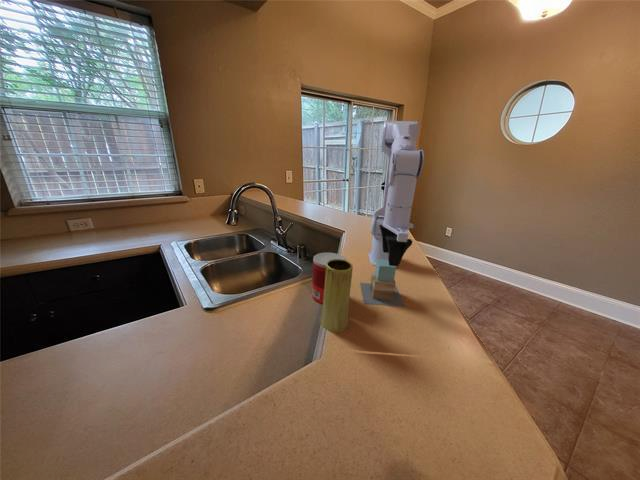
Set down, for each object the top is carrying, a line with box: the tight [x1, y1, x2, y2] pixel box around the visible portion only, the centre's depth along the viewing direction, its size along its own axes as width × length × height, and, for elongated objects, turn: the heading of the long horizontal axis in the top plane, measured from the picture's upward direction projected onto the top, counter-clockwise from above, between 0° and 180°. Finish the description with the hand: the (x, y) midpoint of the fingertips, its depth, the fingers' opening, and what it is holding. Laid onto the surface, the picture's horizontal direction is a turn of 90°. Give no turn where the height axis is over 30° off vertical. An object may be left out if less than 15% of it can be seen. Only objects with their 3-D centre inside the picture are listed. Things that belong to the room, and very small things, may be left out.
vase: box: [320, 259, 354, 333], centre depth 51 cm, size 6×6×14 cm
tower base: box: [370, 281, 394, 300], centre depth 65 cm, size 5×5×2 cm
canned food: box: [311, 252, 347, 306], centre depth 61 cm, size 8×8×11 cm
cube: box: [374, 259, 397, 282], centre depth 63 cm, size 4×4×4 cm
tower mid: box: [370, 271, 396, 291], centre depth 64 cm, size 5×5×2 cm
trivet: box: [359, 282, 406, 308], centre depth 65 cm, size 10×10×1 cm
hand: (390, 258), depth 62 cm, fingers open, 7 cm apart
